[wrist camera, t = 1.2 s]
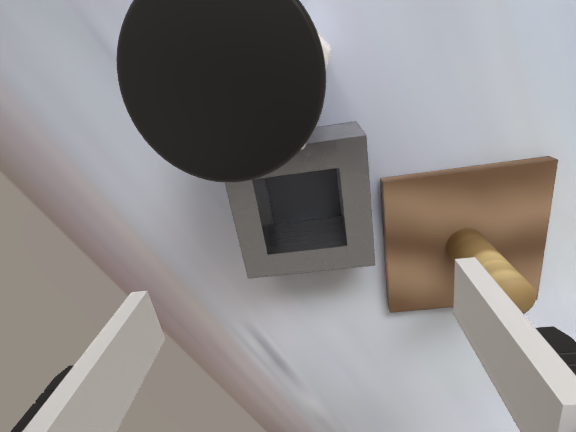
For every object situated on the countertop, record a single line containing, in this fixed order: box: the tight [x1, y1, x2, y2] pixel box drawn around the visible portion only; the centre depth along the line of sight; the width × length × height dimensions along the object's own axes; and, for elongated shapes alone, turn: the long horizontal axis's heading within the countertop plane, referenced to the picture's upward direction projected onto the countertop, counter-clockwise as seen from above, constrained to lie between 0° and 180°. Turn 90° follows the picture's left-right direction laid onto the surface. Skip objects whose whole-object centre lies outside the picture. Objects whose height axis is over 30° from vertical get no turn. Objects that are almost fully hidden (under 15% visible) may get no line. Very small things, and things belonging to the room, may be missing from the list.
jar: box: [117, 0, 331, 182], centre depth 19 cm, size 9×8×12 cm
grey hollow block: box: [225, 121, 375, 278], centre depth 25 cm, size 9×9×5 cm
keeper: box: [381, 156, 558, 314], centre depth 25 cm, size 12×12×8 cm
